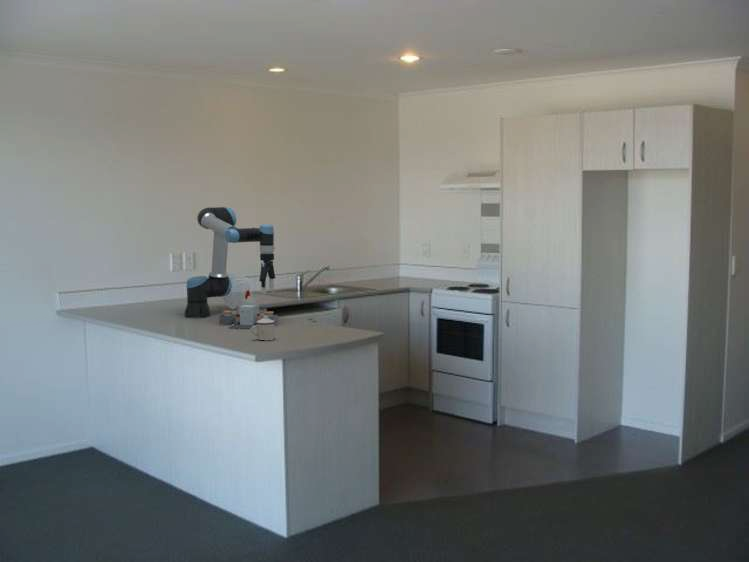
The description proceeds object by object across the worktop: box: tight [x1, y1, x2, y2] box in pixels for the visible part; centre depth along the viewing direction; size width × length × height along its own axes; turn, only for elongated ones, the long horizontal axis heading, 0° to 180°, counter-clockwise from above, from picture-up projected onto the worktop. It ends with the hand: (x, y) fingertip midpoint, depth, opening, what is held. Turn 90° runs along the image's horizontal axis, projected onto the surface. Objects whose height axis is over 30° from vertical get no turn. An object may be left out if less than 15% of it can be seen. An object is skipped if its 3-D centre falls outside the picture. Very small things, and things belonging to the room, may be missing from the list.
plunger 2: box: [264, 310, 275, 317], centre depth 447 cm, size 5×5×6 cm
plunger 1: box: [222, 310, 233, 316], centre depth 451 cm, size 5×5×6 cm
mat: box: [228, 324, 255, 330], centre depth 439 cm, size 9×12×1 cm
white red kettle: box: [235, 290, 261, 318], centre depth 482 cm, size 14×14×15 cm
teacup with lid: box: [250, 315, 276, 341], centre depth 401 cm, size 12×9×12 cm
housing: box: [218, 313, 279, 326], centre depth 449 cm, size 12×31×5 cm, turn 80°
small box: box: [239, 305, 258, 325], centre depth 449 cm, size 8×6×10 cm
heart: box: [221, 272, 251, 310], centre depth 510 cm, size 28×16×22 cm, turn 38°
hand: (267, 291), depth 446 cm, fingers open, 13 cm apart
